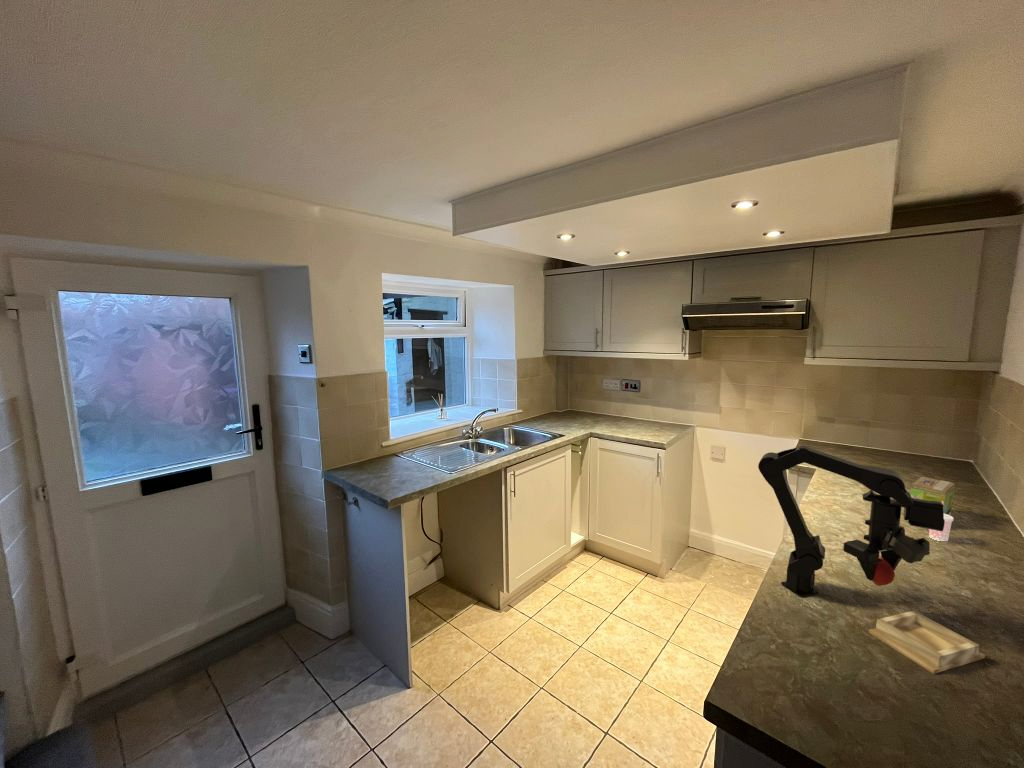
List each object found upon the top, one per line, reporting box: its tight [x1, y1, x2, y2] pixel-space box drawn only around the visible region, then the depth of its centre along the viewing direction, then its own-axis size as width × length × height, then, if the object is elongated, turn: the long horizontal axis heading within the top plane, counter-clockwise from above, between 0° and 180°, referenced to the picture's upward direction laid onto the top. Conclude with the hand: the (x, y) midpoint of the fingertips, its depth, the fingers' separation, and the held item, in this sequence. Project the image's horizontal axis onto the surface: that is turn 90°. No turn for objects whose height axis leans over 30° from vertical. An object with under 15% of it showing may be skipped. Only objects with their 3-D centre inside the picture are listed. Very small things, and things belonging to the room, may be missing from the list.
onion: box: [871, 555, 896, 587], centre depth 110 cm, size 6×6×8 cm
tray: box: [868, 610, 986, 675], centre depth 99 cm, size 16×13×3 cm
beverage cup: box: [928, 501, 954, 541], centre depth 147 cm, size 6×6×14 cm
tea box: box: [909, 475, 956, 516], centre depth 164 cm, size 15×10×15 cm
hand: (878, 577), depth 110 cm, fingers closed on onion, 6 cm apart
